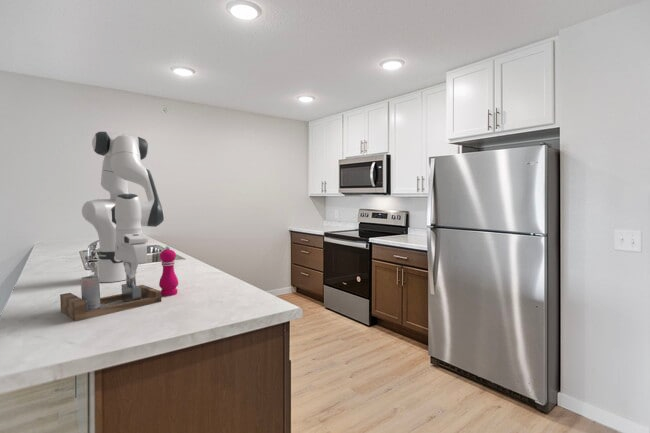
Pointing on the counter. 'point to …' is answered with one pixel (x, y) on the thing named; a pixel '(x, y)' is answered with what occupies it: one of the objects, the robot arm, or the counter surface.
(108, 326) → the counter surface
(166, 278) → the pepper mill
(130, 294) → the press jaw
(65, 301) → the press frame
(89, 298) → the energy drink
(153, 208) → the robot arm
